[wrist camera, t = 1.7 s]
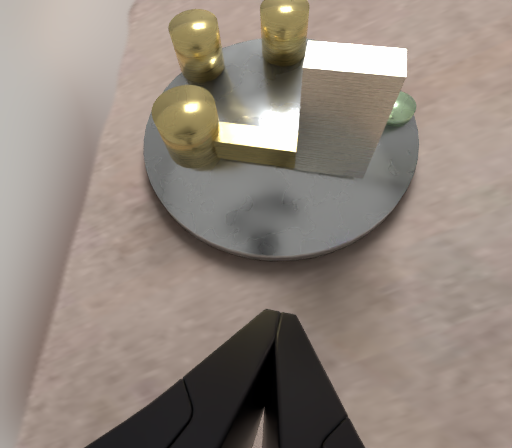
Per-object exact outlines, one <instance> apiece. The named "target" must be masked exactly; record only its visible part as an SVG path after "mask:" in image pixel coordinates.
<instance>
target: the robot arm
mask: <svg viewBox="0 0 512 448" xmlns="http://www.w3.org/2000/svg"><path fill="white" fill-rule="evenodd" d="M264 407H265V408H264ZM263 411H264V423H263V441H262V448H365V447H364V445H363V443H362V441H361V439H360V438H359V436H358V434H357V432H356V430H355V428H354V426H353V424H352V422H351V420H350V419H349V418H348V415H347V413H346V411H345V409H344V407H343V405H342V403H341V401H340V399H339V397H338V395H337V393H336V391H335V389H334V388H333V386H332V384H331V382H330V380H329V378H328V376H327V374H326V372H325V370H324V368H323V366H322V364H321V362H320V360H319V358H318V356H317V355H316V353H315V351H314V349H313V347H312V345H311V343H310V341H309V339H308V337H307V335H306V333H305V331H304V329H303V327H302V325H301V323H300V321H299V320H298V318H297V316H296V315H294V314H289V313H284V312H282V313H280V312H279V311H274V310H269V309H265V310H264V311H262V312H261V313H260V314H259V315H258V316H256V317H255V318H254V319H253V320H252V321H250V322H249V323H248V324H247V325H245V326H244V327H243V328H242V329H241V330H239V331H238V332H237V333H236V334H235V335H233V336H232V337H231V338H230V339H229V340H227V341H226V342H225V343H224V344H223V345H221V346H220V347H219V348H218V349H216V350H215V351H214V352H213V353H212V354H210V355H209V356H208V357H207V358H206V359H204V360H203V361H202V362H201V363H200V364H198V365H197V366H196V367H195V368H194V369H192V370H191V371H190V372H189V373H187V374H186V375H185V376H184V377H183V379H180V380H179V381H178V382H176V383H175V384H174V385H173V386H172V387H170V388H169V389H168V390H167V391H165V392H164V393H163V394H161V395H160V396H159V397H158V398H156V399H155V400H154V401H152V402H151V403H150V404H149V405H147V406H146V407H144V408H143V409H141V410H140V411H138V412H137V413H136V414H134V415H133V416H131V417H130V418H128V419H127V420H126V421H124V422H122V423H121V424H119V425H118V426H116V427H115V428H113V429H112V430H110V431H109V432H107V433H106V434H104V435H103V436H101V437H100V438H98V439H97V440H95V441H94V442H92V443H91V444H89V445H88V446H86V447H85V448H252V446H253V443H254V440H255V437H256V434H257V430H258V427H259V424H260V421H261V417H262V414H263Z"/></svg>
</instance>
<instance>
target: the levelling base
mask: <svg viewBox="0 0 512 448" xmlns="http://www.w3.org/2000/svg"><path fill="white" fill-rule="evenodd" d="M260 16H261V38H262V39H256V40H250V41H246V42H241V43H237V44H234V45H231V46H228V47H225V48H222V46H221V40H220V34H219V28H218V22H217V18H216V17H215V15H214V14H212V13H211V12H209V11H206V10H202V9H192V10H187V11H184V12H182V13H180V14H178V15H176V16H175V17H174V18H173V19H172V20H171V22H170V23H169V33H170V36H171V39H172V42H173V46H174V49H175V52H176V55H177V59H178V62H179V65H180V68H181V71H182V73H181V74H179V75H178V76H177V77H176V78H175V79H174V80H173V81H172V82H171V83H170V84H169V85H168V87H167V88H166V89H165V90H164V92H165V91H167V90H169V89H171V88H173V87H176V86H181V85H196V86H199V87H202V88H204V89H206V90H207V91H209V92H210V93H211V95H212V96H213V98H214V100H215V104H216V109H217V113H218V118H219V122H224V123H232V124H240V125H249V126H257V127H266V128H274V129H282V130H291V131H298V123H299V111H300V99H301V87H302V74H303V65H304V60H305V55H306V50H307V46H308V41H317V40H312V39H307V28H308V16H309V3H308V1H307V0H264V1H263V2H262V4H261V6H260ZM318 42H322V41H318ZM164 92H163V93H164ZM415 110H416V103H415V101H414V99H413V98H412V97H411V96H410V95H408V94H406V93H404V92H401V90H400V93H399V95H398V98H397V100H396V102H395V105H394V107H393V109H392V112H391V114H390V116H389V119H388V121H387V123H386V126H385V128H384V130H383V133H382V135H381V138H380V140H379V142H378V145H377V147H376V149H375V152H374V154H373V156H372V159H371V161H370V163H369V166H368V168H367V171H366V173H365V175H364V178H363V179H361V178H354V177H347V176H339V175H332V174H324V173H317V172H310V171H302V170H295V168H288V167H281V166H274V165H266V164H259V163H251V162H244V161H237V160H229V159H222V158H217V159H216V160H215V161H214V162H213V163H211V164H209V165H207V166H205V167H202V168H196V169H190V168H185V167H182V166H180V165H178V164H176V163H175V162H174V161H173V160H172V158H171V156H170V154H169V152H168V150H167V148H166V146H165V144H164V142H163V140H162V138H161V136H160V133H159V131H158V129H157V127H156V125H155V123H154V121H153V118H152V112H151V114H150V117H149V120H148V123H147V125H146V131H145V136H144V160H145V167H146V170H147V174H148V177H149V180H150V183H151V185H152V187H153V189H154V190H155V192H156V194H157V196H158V198H159V199H160V201H161V202H162V204H163V205H164V207H165V208H166V209H167V211H168V212H169V213H170V215H171V216H172V217H173V218H174V219H175V220H176V221H177V222H178V223H179V224H180V225H181V226H182V227H183V228H184V229H185V230H187V231H188V232H189V233H191V234H192V235H193V236H195V237H196V238H197V239H199V240H201V241H203V242H205V243H206V244H208V245H210V246H212V247H214V248H216V249H219V250H222V251H224V252H227V253H229V254H232V255H236V256H241V257H245V258H249V259H255V260H264V261H294V260H301V259H309V258H314V257H317V256H321V255H325V254H328V253H332V252H334V251H337V250H339V249H341V248H344V247H346V246H349V245H350V244H352V243H354V242H356V241H357V240H359V239H361V238H362V237H364V236H366V235H367V234H368V233H370V232H371V231H372V230H373V229H375V228H376V227H377V226H378V225H380V224H381V223H382V221H383V220H384V219H385V218H386V217H387V216H388V215H389V214H390V213H391V212H392V210H393V209H394V208H395V206H396V205H397V203H398V202H399V200H400V199H401V197H402V196H403V194H404V193H405V191H406V190H407V188H408V186H409V183H410V181H411V179H412V177H413V175H414V171H415V167H416V164H417V160H418V149H419V139H418V129H417V125H416V121H415V117H414V112H415Z"/></svg>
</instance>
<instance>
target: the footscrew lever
mask: <svg viewBox="0 0 512 448" xmlns="http://www.w3.org/2000/svg"><path fill="white" fill-rule="evenodd" d="M406 67H407V49H403V48H391V47H379V46H367V45H354V44H342V43H330V42H318V41H308V46H307V50H306V55H305V60H304V65H303V74H302V87H301V99H300V111H299V123H298V131H291V130H282V129H274V128H266V127H257V126H249V125H240V124H232V123H224V122H219V118H218V113H217V109H216V104H215V100H214V98H213V96H212V95H211V93H210V92H209V91H207V90H206V89H204V88H202V87H199V86H196V85H181V86H176V87H173V88H171V89H169V90H167V91H165V92H164V93H162V94H161V95H160V96H159V97H158V98H157V99H156V101H155V103H154V104H153V107H152V118H153V121H154V123H155V125H156V127H157V129H158V131H159V133H160V136H161V138H162V140H163V142H164V144H165V146H166V148H167V150H168V152H169V154H170V156H171V158H172V160H173V161H174V162H175V163H176V164H178V165H180V166H182V167H185V168H190V169H196V168H202V167H205V166H207V165H209V164H211V163H213V162H214V161H215V160H216V159H217V158H222V159H229V160H237V161H244V162H251V163H259V164H266V165H274V166H281V167H288V168H295V170H302V171H310V172H317V173H324V174H332V175H339V176H347V177H354V178H361V179H363V178H364V175H365V173H366V171H367V168H368V166H369V163H370V161H371V159H372V156H373V154H374V152H375V149H376V147H377V145H378V142H379V140H380V138H381V135H382V133H383V130H384V128H385V126H386V123H387V121H388V119H389V116H390V114H391V112H392V109H393V107H394V105H395V102H396V100H397V98H398V95H399V93H400V90H401V88H402V86H403V83H404V81H405V79H406Z"/></svg>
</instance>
